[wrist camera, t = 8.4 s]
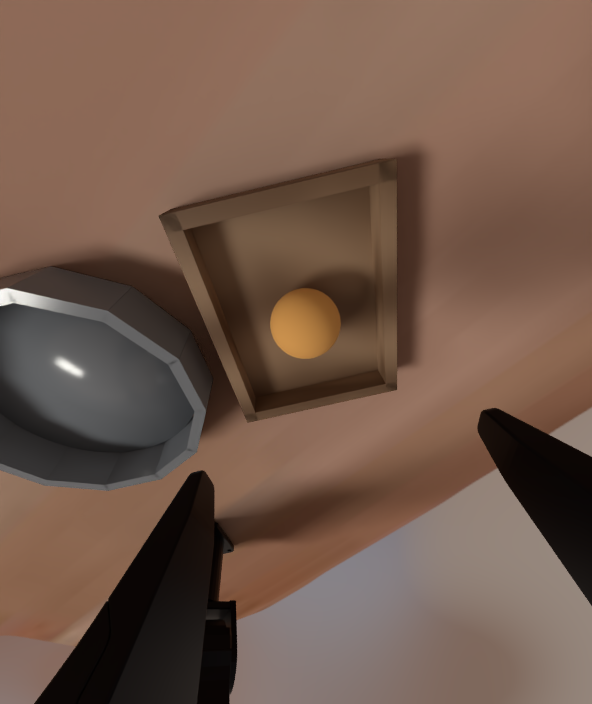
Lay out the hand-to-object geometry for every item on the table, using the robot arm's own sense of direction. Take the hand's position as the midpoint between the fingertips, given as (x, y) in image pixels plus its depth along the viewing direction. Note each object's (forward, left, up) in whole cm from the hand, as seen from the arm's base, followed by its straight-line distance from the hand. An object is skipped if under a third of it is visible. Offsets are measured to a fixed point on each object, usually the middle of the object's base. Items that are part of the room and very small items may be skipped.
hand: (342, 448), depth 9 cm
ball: (0, 0, -11) cm, 11 cm away
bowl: (-2, +15, -11) cm, 19 cm away
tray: (0, 0, -11) cm, 11 cm away
